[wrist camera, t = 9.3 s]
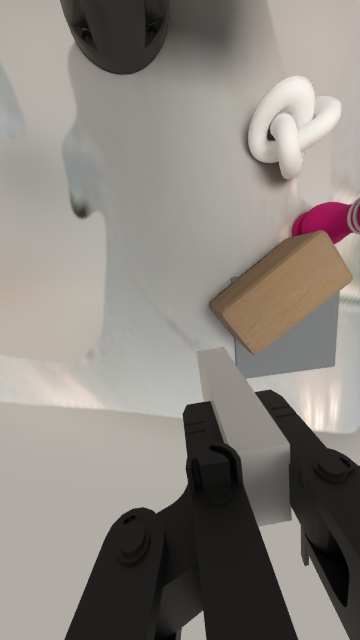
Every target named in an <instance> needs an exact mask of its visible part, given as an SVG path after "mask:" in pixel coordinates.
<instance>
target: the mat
mask: <svg viewBox="0 0 360 640" xmlns="http://www.w3.org/2000/svg"><path fill="white" fill-rule="evenodd" d="M239 278H240V277H234V278H231V282H232V284H233V283H234V282H236V281H237V280H238V279H239ZM338 306H339V292H337V293H336V294H335V295H334V296H332V297H331V298H330V299H328V300H327V301H326V302H325V303H323V304H322V305H321V306H319V307H318V308H317V309H316V310H314V311H313V312H312V313H310V314H309V315H308V316H306V317H305V318H304V319H303V320H301V321H300V322H299V323H297V324H296V325H295V326H294V327H292V328H291V329H290V330H288V331H287V332H286V333H285V334H283V335H282V336H281V337H279V338H278V339H277V340H276V341H274V342H273V343H272V344H270V345H269V346H268V347H267V348H265V349H264V350H263V351H261V352H260V353H259V354H256V355H253V354H251V353H249V352H248V350H247V349H246V348H245V347H244V346H243V345H242V344H241V343H240V342H239V341H238V340H237V339H236V338H235V356H236V366H237V367H238V369H239V370H240V372H241V373H242V375H243V376H244V378H253V377H260V376H267V375H275V374H282V373H289V372H296V371H304V370H311V369H318V368H326V367H333V366H335V352H336V337H337V321H338Z"/></svg>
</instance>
